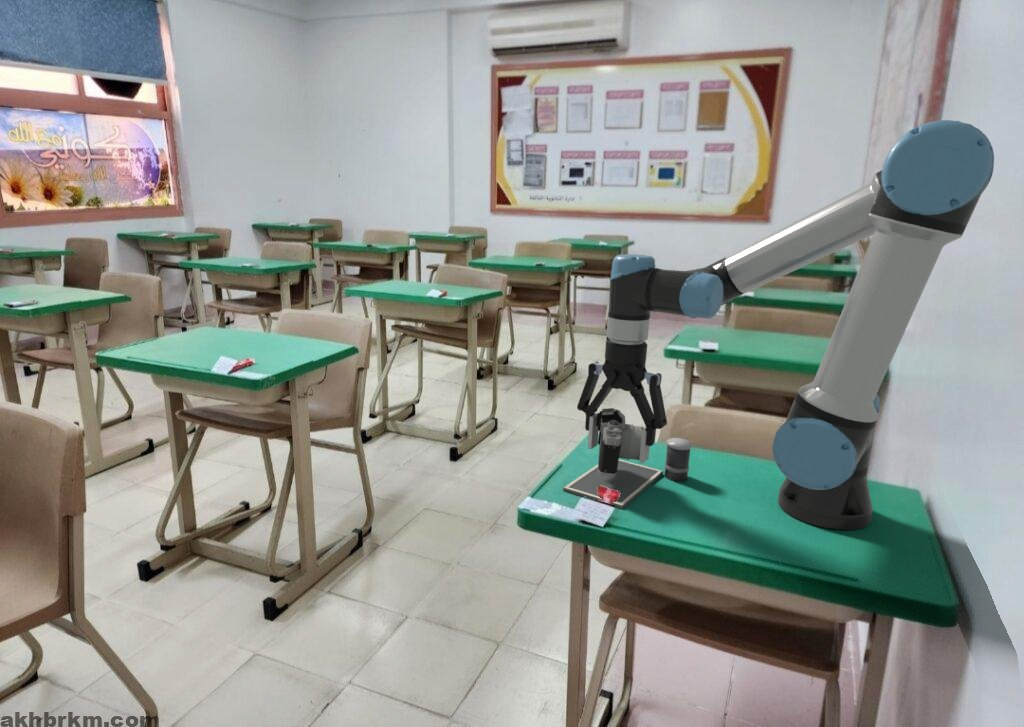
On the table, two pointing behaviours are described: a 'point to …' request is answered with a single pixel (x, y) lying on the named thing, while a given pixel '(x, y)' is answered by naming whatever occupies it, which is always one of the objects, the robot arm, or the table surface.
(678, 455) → the lens
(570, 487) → the mat
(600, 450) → the camera
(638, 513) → the table surface
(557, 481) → the table surface
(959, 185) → the robot arm
